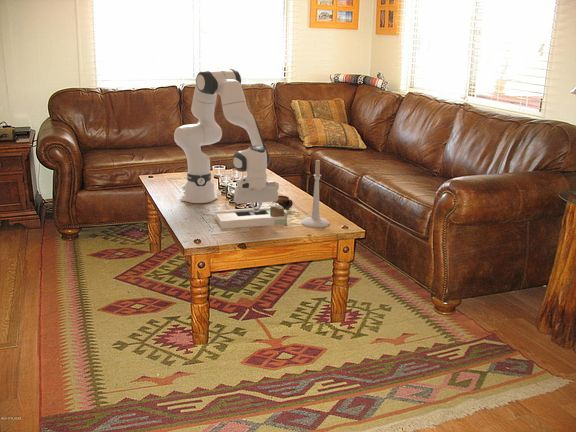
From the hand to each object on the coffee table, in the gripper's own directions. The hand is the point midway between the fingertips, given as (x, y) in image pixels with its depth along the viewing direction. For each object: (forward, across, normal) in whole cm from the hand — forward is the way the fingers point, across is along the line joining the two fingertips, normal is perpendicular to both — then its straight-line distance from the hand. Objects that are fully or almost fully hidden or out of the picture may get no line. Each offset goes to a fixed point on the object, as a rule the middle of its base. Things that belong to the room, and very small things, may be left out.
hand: (255, 211), depth 283 cm
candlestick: (+5, -26, +8) cm, 28 cm away
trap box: (+5, +2, -2) cm, 6 cm away
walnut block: (+2, -10, +2) cm, 10 cm away
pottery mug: (+5, -18, -16) cm, 24 cm away
